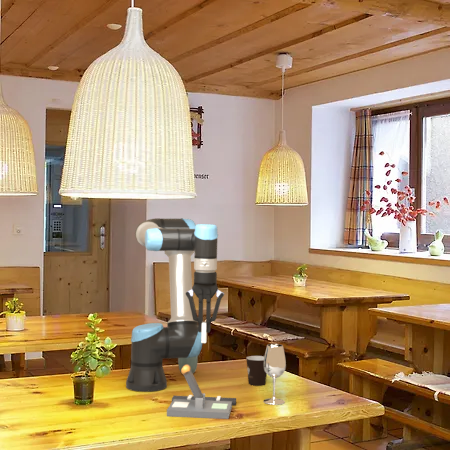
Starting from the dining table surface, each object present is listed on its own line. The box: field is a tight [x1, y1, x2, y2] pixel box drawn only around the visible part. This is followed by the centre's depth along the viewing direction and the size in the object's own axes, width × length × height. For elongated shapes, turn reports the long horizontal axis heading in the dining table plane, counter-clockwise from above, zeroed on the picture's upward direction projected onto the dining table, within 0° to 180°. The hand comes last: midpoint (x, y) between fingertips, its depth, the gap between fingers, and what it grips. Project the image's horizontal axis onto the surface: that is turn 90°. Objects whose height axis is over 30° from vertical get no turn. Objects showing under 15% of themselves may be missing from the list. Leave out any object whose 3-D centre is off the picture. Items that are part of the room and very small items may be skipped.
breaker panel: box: [166, 393, 233, 420], centre depth 249 cm, size 20×14×5 cm
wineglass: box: [262, 343, 287, 406], centre depth 263 cm, size 8×8×20 cm
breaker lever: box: [180, 365, 203, 399], centre depth 250 cm, size 3×4×13 cm, turn 174°
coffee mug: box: [245, 355, 267, 387], centre depth 291 cm, size 12×9×10 cm
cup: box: [177, 355, 199, 374], centre depth 305 cm, size 8×8×10 cm
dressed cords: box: [171, 394, 237, 406], centre depth 260 cm, size 22×5×2 cm, turn 85°
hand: (204, 342), depth 249 cm, fingers closed
